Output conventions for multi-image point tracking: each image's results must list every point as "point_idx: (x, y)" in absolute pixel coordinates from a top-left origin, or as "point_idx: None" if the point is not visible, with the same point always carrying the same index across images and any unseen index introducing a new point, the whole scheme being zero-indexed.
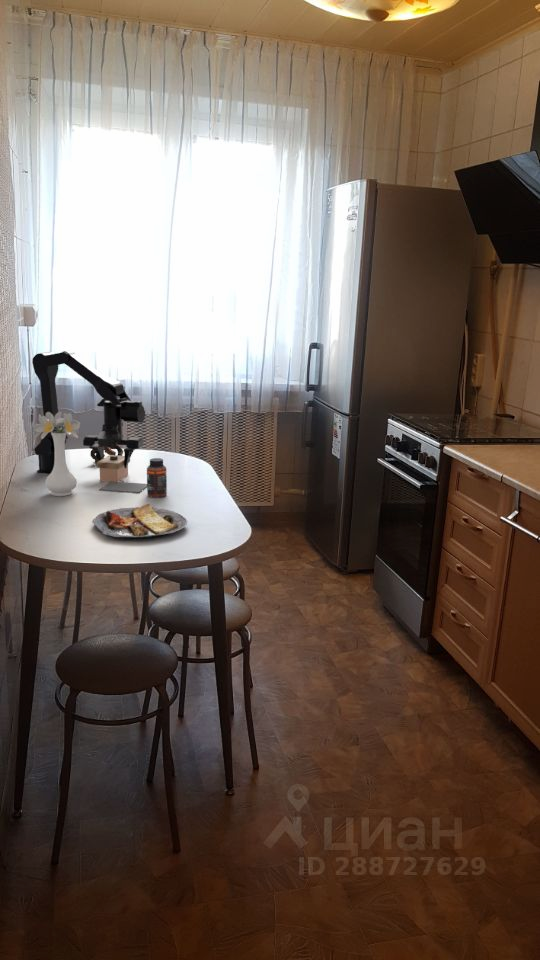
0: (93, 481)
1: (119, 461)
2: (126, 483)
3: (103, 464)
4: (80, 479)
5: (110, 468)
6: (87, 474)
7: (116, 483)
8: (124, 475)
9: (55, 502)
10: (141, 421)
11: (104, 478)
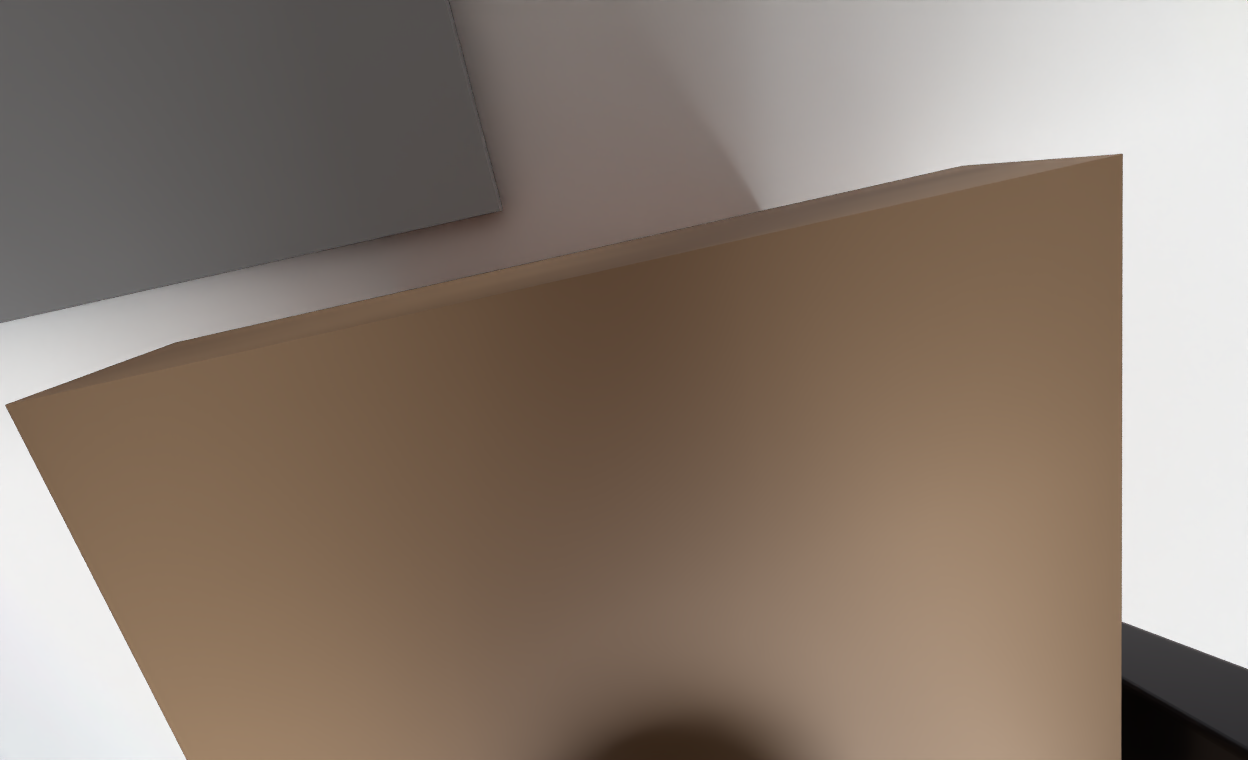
0: (868, 119)
1: (279, 741)
2: (68, 202)
3: (761, 219)
4: (1182, 137)
5: (474, 277)
6: (1193, 511)
7: (260, 95)
8: None
9: None
10: None
11: None
